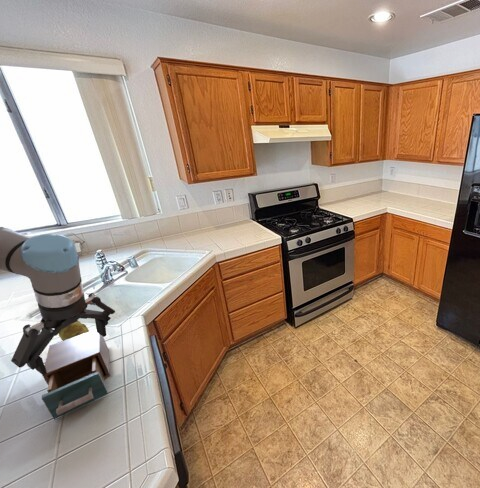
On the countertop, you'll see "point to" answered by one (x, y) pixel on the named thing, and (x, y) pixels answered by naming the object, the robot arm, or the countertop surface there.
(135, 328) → the countertop surface
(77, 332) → the potato
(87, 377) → the drawer
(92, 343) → the cabinet
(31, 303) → the countertop surface
